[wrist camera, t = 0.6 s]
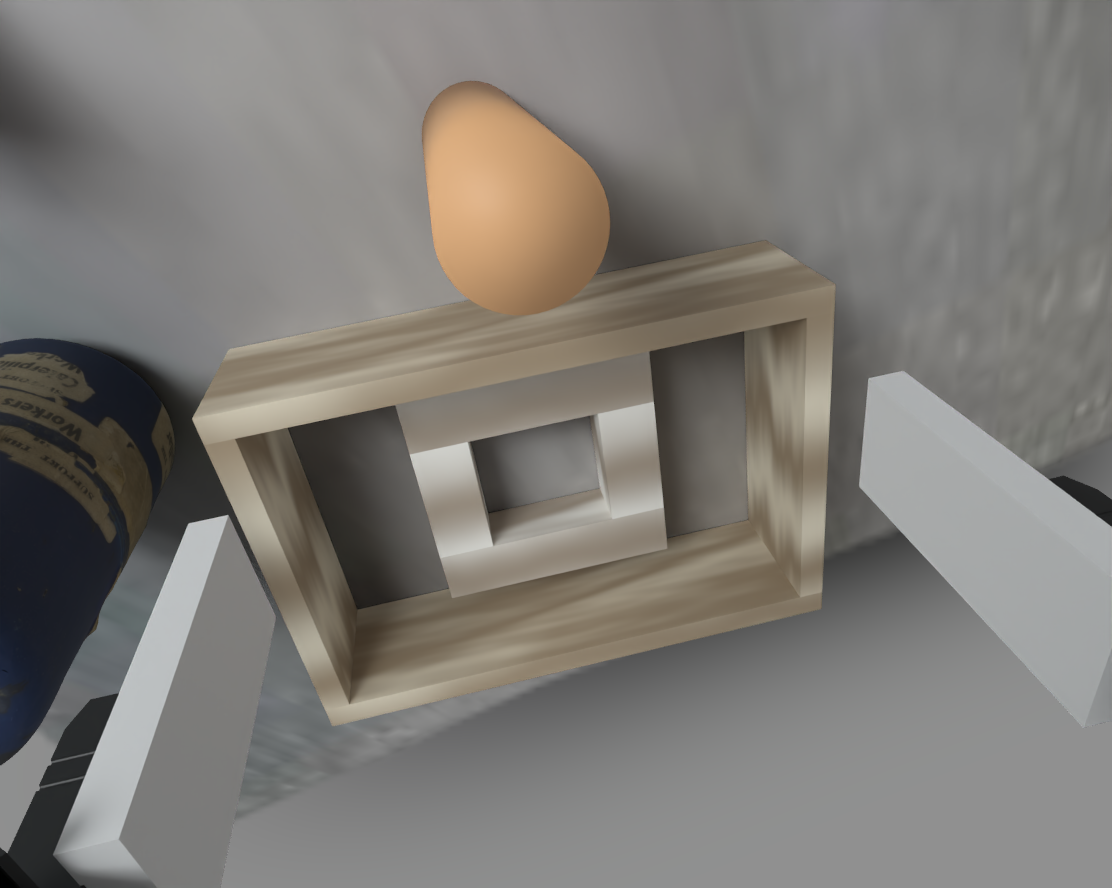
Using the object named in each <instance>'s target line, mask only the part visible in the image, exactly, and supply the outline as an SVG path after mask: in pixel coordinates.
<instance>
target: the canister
mask: <svg viewBox="0 0 1112 888" xmlns="http://www.w3.org/2000/svg"><path fill="white" fill-rule="evenodd" d="M174 451H175V439H174V432H173V428H172V425H171V421H170V418H169V416H168V413H167V411H166V410H165V408H164V406H163V404H162V402H161V401H160V400H159V398H158V397H157V395H156V394H155V392H154V391H153V390H152V388H151V387H150V386H149V385H148V384H147V383H146V382H145V381H144V380H143V379H142V378H141V377H140V376H138V375H137V374H136V373H135V372H133V371H132V370H131V369H129V368H128V367H126V366H125V365H124V364H122V363H121V362H119V361H117V360H116V359H114V358H112V357H110V356H108V355H106V354H104V353H101V352H99V351H97V350H95V349H92V348H90V347H86V346H83V345H80V344H76V343H72V342H67V341H61V340H55V339H41V338H34V339H21V340H14V341H9V342H4V343H0V765H2V764H3V763H5V762H6V761H7V760H9V759H10V758H11V757H13V755H15V754H16V753H17V752H18V751H19V750H20V749H21V748H22V747H23V746H24V745H25V744H26V743H27V742H28V741H29V739H30V738H31V737H32V735H33V734H34V733H35V732H36V730H37V729H38V727H39V726H40V724H41V723H42V721H43V719H44V718H45V716H46V714H47V712H48V710H49V709H50V707H51V705H52V703H53V701H54V699H55V697H56V695H57V693H58V690H59V688H60V686H61V684H62V682H63V680H64V677H65V675H66V673H67V671H68V669H69V668H70V666H71V664H72V662H73V660H74V658H75V656H76V654H77V653H78V651H79V649H80V647H81V645H82V643H83V641H84V640H85V639H86V638H87V636H89V635H90V634H91V633H92V632H94V631H95V630H96V628H97V625H98V618H99V613H100V610H101V607H102V605H103V603H104V601H105V599H106V598H107V596H108V595H109V593H110V592H111V591H112V589H113V587H114V585H115V583H116V581H117V579H118V577H119V576H120V574H121V572H122V570H123V568H124V567H125V565H126V563H127V561H128V559H129V557H130V555H131V553H132V551H133V549H134V547H135V546H136V544H137V542H138V540H139V538H140V536H141V535H142V533H143V531H144V529H145V527H146V524H147V520H148V517H149V514H150V512H151V510H152V507H153V505H154V503H155V501H156V498H157V496H158V494H159V492H160V490H161V488H162V486H163V484H164V482H165V481H166V479H167V477H168V475H169V473H170V470H171V467H172V464H173V460H174Z"/></svg>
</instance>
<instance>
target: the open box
mask: <svg viewBox="0 0 1112 888" xmlns="http://www.w3.org/2000/svg"><path fill="white" fill-rule="evenodd" d="M835 286H836V285H835V284H834V283H832V282H831V281H829V280H828V279H826V278H824V277H823V276H821V275H820V274H818V273H817V272H815V271H813V270H812V269H810V268H809V267H807V266H806V265H804V264H802V263H801V262H799V261H798V260H796V259H795V258H793V257H791V256H790V255H788V254H787V253H785V252H783V251H782V250H780V249H779V248H777V247H776V246H774V245H772V244H771V243H769V242H768V241H766V240H765V241H760V242H755V243H750V244H745V245H740V246H735V247H730V248H725V249H720V250H715V251H711V252H706V253H701V254H696V255H691V256H686V257H681V258H676V259H671V260H666V261H661V262H656V263H651V264H646V265H642V266H637V267H632V268H627V269H622V270H617V271H612V272H607V273H602V274H597V275H594V276H593V278H592V279H591V280H590V281H589V283H588V284H587V285H586V286H585V287H584V288H583V289H582V290H581V291H580V292H579V293H578V294H577V295H575V296H574V297H573V298H571V299H570V300H569V301H567V302H565V303H564V304H562V305H560V306H558V307H556V308H553V309H551V310H549V311H545V312H541V313H538V314H531V315H508V314H502V313H498V312H494V311H491V310H489V309H486V308H483V307H481V306H480V305H478V304H476V303H474V302H473V301H471V300H469V301H464V302H459V303H454V304H449V305H445V306H440V307H435V308H430V309H425V310H420V311H415V312H410V313H405V314H400V315H395V316H390V317H385V318H381V319H376V320H371V321H366V322H361V323H356V324H351V325H346V326H341V327H336V328H331V329H326V330H321V331H316V332H312V333H307V334H302V335H297V336H292V337H287V338H282V339H277V340H272V341H267V342H262V343H257V344H252V345H248V346H243V347H238V348H233V349H229V350H228V352H227V354H226V356H225V358H224V360H223V362H222V363H221V365H220V367H219V369H218V371H217V373H216V375H215V377H214V378H213V380H212V382H211V384H210V386H209V388H208V390H207V392H206V393H205V395H204V397H203V399H202V401H201V403H200V405H199V407H198V409H197V410H196V412H195V414H194V416H193V418H192V420H193V422H194V424H195V427H196V429H197V431H198V433H199V435H200V438H201V440H202V442H203V444H204V446H205V448H206V451H207V453H208V455H209V457H210V459H211V462H212V464H213V466H214V468H215V470H216V472H217V475H218V477H219V479H220V481H221V483H222V486H223V488H224V490H225V492H226V494H227V496H228V499H229V501H230V503H231V505H232V507H233V510H234V512H235V514H236V516H237V518H238V521H239V523H240V525H241V527H242V529H243V531H244V534H245V536H246V538H247V540H248V542H249V545H250V547H251V549H252V551H253V553H254V555H255V558H256V560H257V562H258V564H259V566H260V569H261V571H262V573H263V575H264V577H265V579H266V582H267V584H268V586H269V588H270V590H271V593H272V595H273V597H274V599H275V601H276V603H277V606H278V608H279V610H280V612H281V614H282V617H283V619H284V621H285V623H286V625H287V628H288V630H289V632H290V634H291V636H292V638H293V641H294V643H295V645H296V647H297V649H298V652H299V654H300V656H301V658H302V660H303V662H304V665H305V667H306V669H307V671H308V673H309V676H310V678H311V680H312V682H313V684H314V686H315V689H316V691H317V693H318V695H319V697H320V700H321V702H322V704H323V706H324V708H325V710H326V713H327V715H328V717H329V719H330V721H331V724H332V726H336V725H340V724H344V723H348V722H352V721H357V720H361V719H365V718H369V717H373V716H377V715H382V714H386V713H390V712H394V711H398V710H402V709H407V708H411V707H415V706H419V705H423V704H427V703H432V702H436V701H440V700H444V699H448V698H452V697H457V696H461V695H465V694H469V693H473V692H477V691H482V690H486V689H490V688H494V687H498V686H502V685H507V684H511V683H515V682H519V681H523V680H527V679H532V678H536V677H540V676H544V675H548V674H552V673H557V672H561V671H565V670H569V669H573V668H577V667H582V666H586V665H590V664H594V663H598V662H602V661H607V660H611V659H615V658H619V657H623V656H627V655H632V654H635V653H640V652H644V651H648V650H652V649H657V648H661V647H665V646H669V645H673V644H677V643H681V642H686V641H690V640H694V639H698V638H702V637H707V636H711V635H715V634H719V633H723V632H727V631H732V630H735V629H740V628H744V627H748V626H752V625H756V624H761V623H765V622H769V621H773V620H777V619H781V618H785V617H790V616H794V615H798V614H802V613H806V612H811V611H814V610H819V609H821V606H822V583H823V561H824V538H825V515H826V492H827V469H828V446H829V424H830V401H831V378H832V355H833V332H834V309H835ZM743 331H744V349H745V394H746V440H747V485H748V520H746V521H741V522H737V523H733V524H728V525H724V526H720V527H715V528H711V529H707V530H702V531H698V532H693V533H689V534H685V535H680V536H676V537H672V538H667V537H666V526H665V516H664V505H663V494H662V484H661V473H660V462H659V451H658V441H657V430H656V419H655V409H654V398H653V387H652V376H651V366H650V355H649V351H653V350H658V349H662V348H667V347H672V346H676V345H681V344H686V343H691V342H695V341H700V340H705V339H710V338H714V337H719V336H724V335H729V334H733V333H738V332H743ZM393 405H395V406H396V410H397V413H398V417H399V420H400V423H401V427H402V430H403V434H404V437H405V440H406V444H407V447H408V451H409V454H410V457H411V461H412V464H413V468H414V471H415V474H416V478H417V481H418V484H419V488H420V491H421V495H422V498H423V501H424V505H425V508H426V512H427V515H428V518H429V522H430V525H431V529H432V532H433V535H434V539H435V542H436V545H437V549H438V552H439V556H440V559H441V562H442V566H443V569H444V573H445V576H446V579H447V583H448V586H449V589H445V590H441V591H437V592H432V593H428V594H424V595H419V596H415V597H410V598H406V599H402V600H397V601H393V602H389V603H384V604H380V605H376V606H371V607H367V608H363V609H358V610H357V607H356V604H355V602H354V599H353V597H352V594H351V592H350V589H349V586H348V584H347V581H346V579H345V576H344V573H343V571H342V568H341V566H340V563H339V560H338V558H337V555H336V553H335V550H334V547H333V545H332V542H331V540H330V537H329V534H328V532H327V529H326V527H325V524H324V521H323V519H322V516H321V514H320V511H319V509H318V506H317V503H316V501H315V498H314V496H313V493H312V490H311V488H310V485H309V483H308V480H307V477H306V475H305V472H304V470H303V467H302V464H301V462H300V459H299V457H298V454H297V451H296V449H295V446H294V444H293V441H292V438H291V436H290V433H289V431H288V428H289V427H293V426H298V425H303V424H307V423H312V422H317V421H322V420H326V419H331V418H336V417H341V416H345V415H350V414H355V413H360V412H364V411H369V410H374V409H378V408H383V407H388V406H393ZM586 416H590V423H591V430H592V437H593V443H594V450H595V457H596V464H597V471H598V478H599V485H600V489H595V490H591V491H586V492H582V493H577V494H573V495H568V496H564V497H559V498H555V499H550V500H546V501H542V502H537V503H533V504H528V505H524V506H519V507H515V508H510V509H506V510H501V511H497V512H492V513H488V511H487V507H486V503H485V499H484V495H483V491H482V487H481V483H480V478H479V474H478V470H477V466H476V462H475V458H474V454H473V450H472V446H471V441H475V440H479V439H484V438H488V437H493V436H498V435H502V434H507V433H512V432H516V431H521V430H525V429H530V428H535V427H539V426H544V425H549V424H553V423H558V422H562V421H567V420H572V419H576V418H581V417H586Z"/></svg>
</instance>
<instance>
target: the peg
mask: <svg viewBox="0 0 1112 888" xmlns="http://www.w3.org/2000/svg"><path fill="white" fill-rule="evenodd" d="M422 143H423V152H424V161H425V170H426V180H427V189H428V198H429V207H430V216H431V225H432V234H433V241H434V247H435V250H436V254H437V257H438V260H439V262H440V264H441V266H442V268H443V270H444V272H445V273H446V275H447V277H448V278H449V280H450V281H451V282H452V283H453V285H454V286H455V287H456V288H457V289H458V290H459V291H460V292H461V293H462V294H463V295H464V296H466V297H467V298H468V299H470V300H471V301H473V302H474V303H476V304H478V305H480V306H481V307H483V308H486V309H489V310H491V311H494V312H498V313H502V314H508V315H531V314H538V313H541V312H545V311H549V310H551V309H553V308H556V307H558V306H560V305H562V304H564V303H565V302H567V301H569V300H570V299H571V298H573V297H574V296H575V295H577V294H578V293H579V292H580V291H581V290H582V289H583V288H584V287H585V286H586V285H587V284H588V283H589V281H590V280H591V279H592V278H593V276H594V275H595V273H596V271H597V270H598V268H599V266H600V264H601V262H602V260H603V258H604V255H605V252H606V249H607V245H608V240H609V234H610V212H609V206H608V201H607V198H606V195H605V191H604V189H603V187H602V185H601V182H600V180H599V178H598V177H597V175H596V174H595V172H594V171H593V169H592V168H591V167H590V166H589V164H588V163H587V162H586V161H585V160H584V159H583V158H582V157H581V156H580V155H579V154H577V153H576V152H575V151H574V150H573V149H572V148H570V147H569V146H568V145H567V144H565V143H564V142H563V141H562V140H561V139H559V138H558V137H557V136H556V135H555V134H553V133H552V132H551V131H550V130H549V129H547V128H546V127H545V126H544V125H543V124H541V123H540V122H539V121H538V120H536V119H535V118H534V117H533V116H532V115H530V114H529V113H528V112H527V111H526V110H524V109H523V108H522V107H521V106H520V105H518V104H517V103H516V102H515V101H514V100H512V99H511V98H510V97H509V96H507V95H506V94H505V93H504V92H503V91H501V90H500V89H498V88H496V87H494V86H492V85H490V84H487V83H484V82H479V81H465V82H460V83H457V84H454V85H452V86H450V87H448V88H446V89H445V90H443V91H442V92H441V93H440V94H438V96H437V97H436V98H435V99H434V100H433V101H432V103H431V104H430V106H429V108H428V110H427V112H426V115H425V117H424V121H423V126H422Z"/></svg>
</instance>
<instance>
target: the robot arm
mask: <svg viewBox="0 0 1112 888" xmlns="http://www.w3.org/2000/svg"><path fill="white" fill-rule="evenodd" d="M859 487H860V488H861V489H862V490H863V491H864V492H865V493H866V494H867V496H868V497H869V498H870V499H871V500H872V501H873V502H874V503H875V504H876V505H877V506H878V507H879V508H880V510H881V511H882V512H883V513H884V514H885V515H886V516H887V517H888V518H889V519H890V520H891V521H892V522H893V524H894V525H895V526H896V527H897V528H898V529H899V530H900V531H901V532H902V533H903V534H904V535H905V536H906V537H907V539H908V540H909V541H910V542H911V543H912V544H913V545H914V546H915V547H916V548H917V549H918V550H919V551H920V553H921V554H922V555H923V556H924V557H925V558H926V559H927V560H928V561H929V562H930V563H931V564H932V565H933V567H934V568H935V569H936V570H937V571H938V572H939V573H940V574H941V575H942V576H943V577H944V578H945V579H946V581H948V583H949V584H950V585H951V586H952V587H953V588H954V589H955V590H956V591H957V592H958V593H959V595H961V597H962V598H963V599H964V600H965V601H966V602H967V603H968V604H969V605H970V606H971V607H972V609H973V610H974V611H975V612H976V613H977V614H978V615H979V616H980V617H981V618H982V619H983V620H984V621H985V623H986V624H987V625H988V626H989V627H990V628H991V629H992V630H993V631H994V632H995V633H996V634H997V635H998V637H999V638H1000V639H1001V640H1003V642H1004V643H1005V644H1006V645H1007V646H1008V647H1009V648H1010V649H1011V650H1012V652H1013V653H1014V654H1015V655H1016V656H1017V657H1018V658H1019V659H1020V660H1021V661H1022V662H1023V663H1024V665H1025V666H1026V667H1027V668H1028V669H1029V670H1030V671H1031V672H1032V673H1033V674H1034V675H1035V676H1036V677H1037V678H1038V680H1039V681H1040V682H1041V683H1042V684H1043V685H1044V686H1045V687H1046V688H1047V689H1048V690H1049V691H1050V693H1051V694H1052V695H1053V696H1054V697H1055V698H1056V699H1057V700H1058V701H1059V702H1060V703H1061V704H1062V705H1063V707H1065V709H1066V710H1067V711H1068V712H1069V713H1070V714H1071V715H1072V716H1073V717H1074V718H1075V719H1076V721H1077V722H1078V723H1079V724H1080V725H1081V726H1082V727H1083V728H1086V727H1089V726H1093V725H1097V724H1101V723H1105V722H1109V721H1112V500H1111V499H1110V498H1109V497H1107V496H1106V495H1104V494H1103V493H1102V492H1100V491H1099V490H1097V489H1095V488H1093V487H1090V486H1088V485H1085V484H1083V483H1080V482H1078V481H1075V480H1073V479H1070V478H1068V477H1066V476H1060V477H1056V478H1052V479H1047V478H1046V477H1044V476H1043V475H1042V474H1040V473H1039V472H1038V471H1036V470H1035V469H1034V468H1032V467H1031V466H1030V465H1028V464H1027V463H1026V462H1024V461H1023V460H1022V459H1020V458H1019V457H1018V456H1016V455H1015V454H1014V453H1012V452H1011V451H1010V450H1008V449H1007V448H1006V447H1004V446H1003V445H1002V444H1000V443H999V442H998V441H996V440H995V439H994V438H992V437H991V436H990V435H988V434H987V433H986V432H984V431H983V430H982V429H980V428H979V427H978V426H976V425H975V424H974V423H972V422H971V421H970V420H968V419H967V418H966V417H964V416H963V415H962V414H960V413H959V412H958V411H956V410H955V409H954V408H952V407H951V406H950V405H948V404H947V403H946V402H944V401H943V400H942V399H940V398H939V397H938V396H936V395H935V394H934V393H932V392H931V391H930V390H928V389H927V388H926V387H924V386H923V385H922V384H920V383H919V382H918V381H916V380H915V379H914V378H912V377H911V376H910V375H908V374H907V373H906V372H904V371H900V372H896V373H891V374H886V375H882V376H877V377H872V378H869V379H868V391H867V402H866V413H865V424H864V436H863V447H862V458H861V470H860V481H859ZM275 620H276V616H275V614H274V612H273V609H272V607H271V605H270V603H269V601H268V599H267V597H266V594H265V592H264V590H263V588H262V586H261V584H260V582H259V579H258V577H257V575H256V573H255V571H254V569H253V566H252V564H251V562H250V560H249V558H248V556H247V554H246V551H245V549H244V547H243V545H242V543H241V541H240V539H239V536H238V534H237V532H236V530H235V528H234V526H233V524H232V521H231V519H230V517H229V515H226V516H221V517H217V518H212V519H207V520H203V521H198V522H193V523H189V524H188V526H187V528H186V531H185V533H184V536H183V538H182V541H181V543H180V546H179V548H178V550H177V553H176V555H175V558H174V560H173V563H172V565H171V568H170V570H169V572H168V575H167V577H166V580H165V582H164V585H163V587H162V590H161V592H160V594H159V597H158V599H157V602H156V604H155V607H154V609H153V612H152V614H151V617H150V619H149V621H148V624H147V626H146V629H145V631H144V634H143V636H142V639H141V641H140V643H139V646H138V648H137V651H136V653H135V656H134V658H133V661H132V663H131V665H130V668H129V670H128V673H127V675H126V678H125V680H124V683H123V685H122V687H121V690H120V692H119V693H118V694H113V695H109V696H104V697H100V698H96V699H91V700H90V701H89V702H88V703H87V704H86V705H85V707H84V708H83V709H82V710H81V711H80V712H79V714H78V715H77V716H76V717H75V718H74V719H73V721H72V722H71V723H70V724H69V725H68V726H67V728H66V729H65V730H64V732H63V735H62V737H61V739H60V741H59V743H58V745H57V748H56V750H55V752H54V754H53V756H52V758H51V762H52V764H51V765H50V766H48V767H47V769H46V771H45V774H44V776H43V778H42V780H41V782H40V784H39V786H40V790H39V791H36V793H35V795H34V797H33V799H32V802H31V804H30V806H29V808H28V810H27V812H26V815H25V817H24V819H23V821H22V823H21V825H20V828H19V830H18V832H17V834H16V837H15V838H14V841H13V843H12V845H11V847H10V849H9V851H8V854H7V853H6V852H5V851H4V850H2V849H1V848H0V888H220V887H221V882H222V877H223V872H224V868H225V863H226V858H227V853H228V848H229V843H230V838H231V834H232V828H233V824H234V819H235V814H236V809H237V805H238V800H239V795H240V790H241V785H242V780H243V775H244V771H245V766H246V761H247V756H248V751H249V746H250V741H251V737H252V732H253V727H254V722H255V717H256V712H257V707H258V703H259V698H260V693H261V688H262V683H263V678H264V674H265V669H266V664H267V659H268V654H269V649H270V644H271V640H272V635H273V630H274V625H275Z"/></svg>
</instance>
